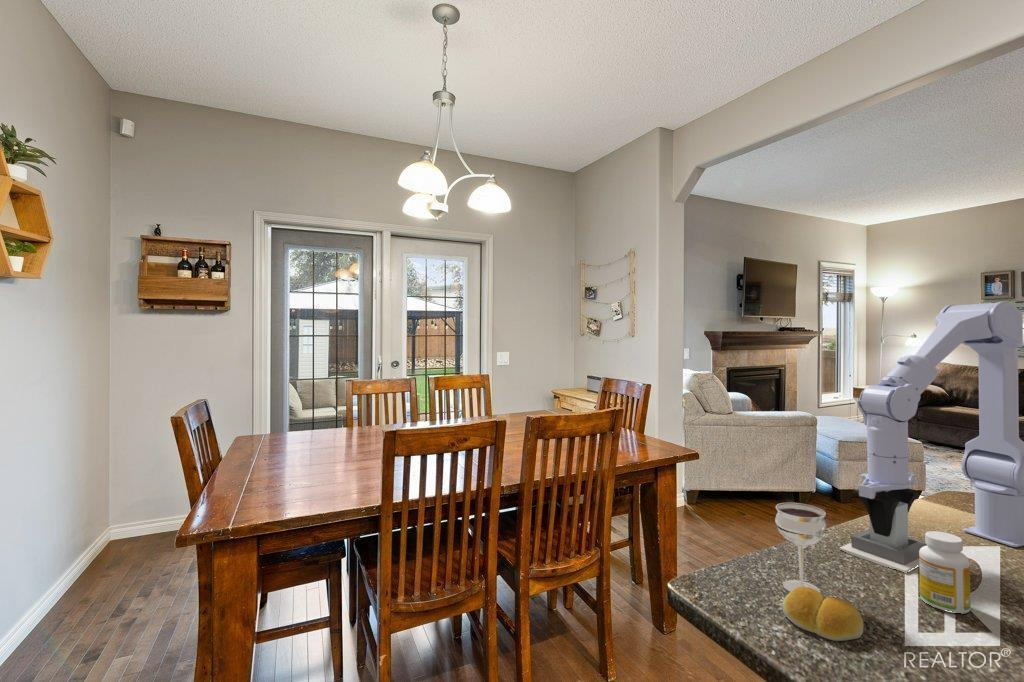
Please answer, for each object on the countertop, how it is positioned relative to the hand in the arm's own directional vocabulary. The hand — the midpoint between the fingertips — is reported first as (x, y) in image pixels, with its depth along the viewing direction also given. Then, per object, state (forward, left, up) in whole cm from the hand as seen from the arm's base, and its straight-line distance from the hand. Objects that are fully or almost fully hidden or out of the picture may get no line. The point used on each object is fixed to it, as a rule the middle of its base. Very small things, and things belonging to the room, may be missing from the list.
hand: (888, 531), depth 85 cm
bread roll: (+29, +11, -4) cm, 32 cm away
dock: (0, 0, -4) cm, 4 cm away
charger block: (0, 0, -3) cm, 3 cm away
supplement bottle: (+9, +14, -4) cm, 17 cm away
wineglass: (+24, +4, -4) cm, 25 cm away
